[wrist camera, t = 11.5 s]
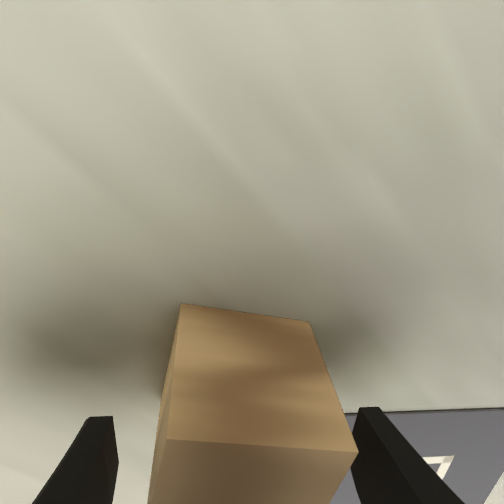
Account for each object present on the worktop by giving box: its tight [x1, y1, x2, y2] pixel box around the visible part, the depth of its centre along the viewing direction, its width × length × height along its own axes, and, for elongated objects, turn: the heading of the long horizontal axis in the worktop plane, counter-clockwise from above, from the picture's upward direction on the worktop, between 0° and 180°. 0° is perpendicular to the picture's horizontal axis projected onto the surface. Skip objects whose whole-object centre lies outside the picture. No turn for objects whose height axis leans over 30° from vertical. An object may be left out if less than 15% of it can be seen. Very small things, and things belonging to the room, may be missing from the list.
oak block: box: [147, 303, 359, 504], centre depth 12 cm, size 4×4×5 cm
